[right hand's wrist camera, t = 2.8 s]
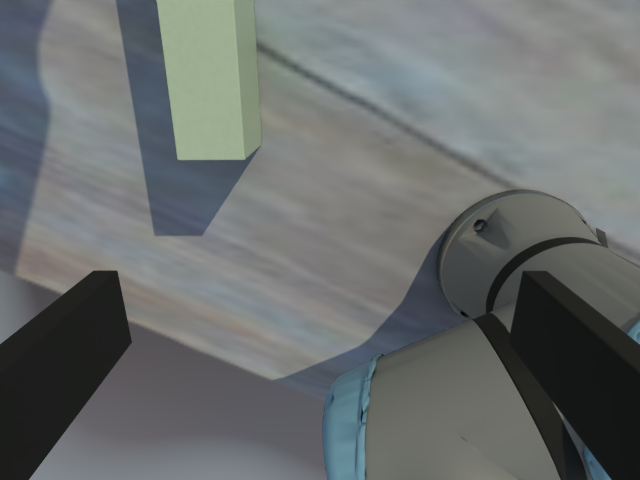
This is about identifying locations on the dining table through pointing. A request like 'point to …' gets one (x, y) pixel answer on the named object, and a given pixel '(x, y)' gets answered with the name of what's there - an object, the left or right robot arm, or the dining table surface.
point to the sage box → (211, 77)
